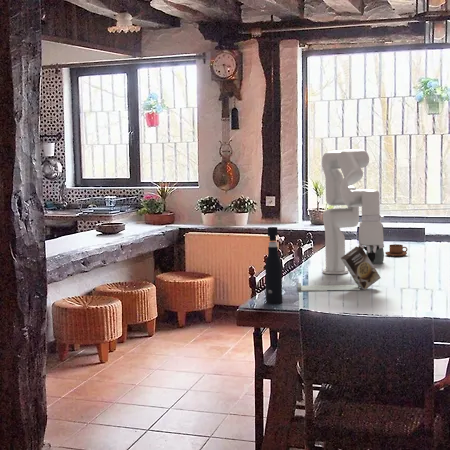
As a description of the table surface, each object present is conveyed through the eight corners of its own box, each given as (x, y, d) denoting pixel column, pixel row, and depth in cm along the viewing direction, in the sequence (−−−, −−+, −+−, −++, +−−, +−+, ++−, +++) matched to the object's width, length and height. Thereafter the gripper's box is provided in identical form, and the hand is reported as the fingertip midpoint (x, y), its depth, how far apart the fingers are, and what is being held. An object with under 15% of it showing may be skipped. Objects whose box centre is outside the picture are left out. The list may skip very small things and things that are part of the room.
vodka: (365, 263, 367) (365, 207, 364) (366, 261, 376) (365, 206, 373) (384, 264, 365) (383, 207, 362) (384, 261, 374) (383, 205, 371)
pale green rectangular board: (298, 287, 308) (297, 283, 308) (357, 286, 306) (357, 282, 305) (298, 291, 298) (298, 287, 298) (359, 290, 296) (359, 286, 295)
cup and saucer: (403, 254, 400) (403, 243, 399) (409, 257, 388) (409, 246, 387) (382, 254, 400) (382, 244, 399) (388, 257, 388) (388, 246, 387)
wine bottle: (281, 300, 280) (279, 226, 277) (283, 303, 274) (281, 228, 271) (265, 301, 280) (263, 226, 277) (266, 304, 274) (265, 228, 271)
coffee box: (365, 290, 296) (345, 260, 292) (358, 287, 302) (339, 258, 299) (381, 277, 297) (362, 247, 294) (374, 275, 303) (356, 245, 300)
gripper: (387, 217, 300) (387, 260, 301) (352, 218, 301) (353, 260, 303) (389, 219, 293) (390, 262, 294) (354, 220, 294) (354, 263, 295)
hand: (371, 261), depth 298 cm, fingers closed
